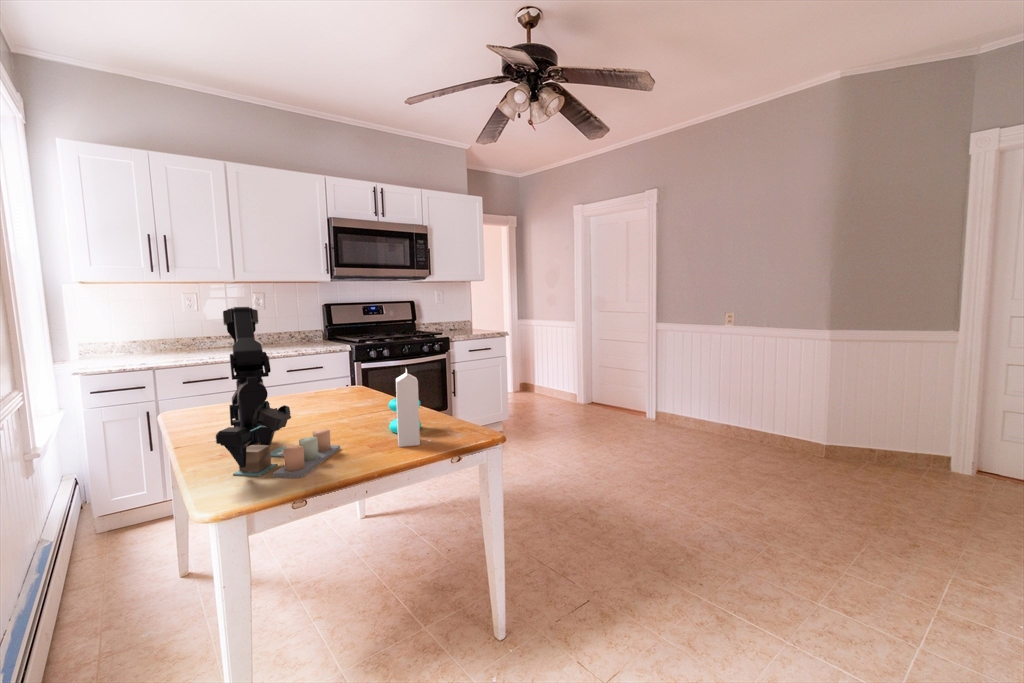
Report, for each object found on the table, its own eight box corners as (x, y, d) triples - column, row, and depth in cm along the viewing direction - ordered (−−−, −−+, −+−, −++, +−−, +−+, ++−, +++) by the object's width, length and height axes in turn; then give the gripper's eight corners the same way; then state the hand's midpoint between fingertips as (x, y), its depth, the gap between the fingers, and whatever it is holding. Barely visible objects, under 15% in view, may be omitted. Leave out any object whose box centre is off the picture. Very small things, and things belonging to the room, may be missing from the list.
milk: (398, 447, 133) (395, 371, 130) (397, 441, 138) (394, 367, 136) (420, 445, 134) (417, 369, 132) (418, 438, 140) (415, 366, 138)
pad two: (232, 475, 113) (232, 472, 113) (251, 464, 120) (251, 462, 120) (260, 476, 112) (260, 473, 112) (277, 465, 119) (277, 463, 119)
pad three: (265, 456, 126) (265, 454, 126) (280, 448, 133) (279, 446, 133) (290, 457, 125) (290, 455, 125) (303, 448, 132) (303, 446, 132)
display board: (273, 477, 111) (271, 452, 111) (316, 448, 132) (315, 427, 132) (301, 477, 111) (299, 453, 110) (340, 448, 132) (339, 428, 131)
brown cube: (259, 471, 113) (257, 451, 113) (239, 471, 114) (238, 451, 113) (271, 464, 118) (269, 445, 118) (252, 464, 119) (251, 445, 118)
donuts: (415, 403, 143) (383, 403, 144) (416, 435, 144) (384, 434, 145) (424, 396, 153) (394, 396, 154) (424, 425, 154) (395, 425, 155)
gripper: (258, 408, 104) (263, 475, 106) (302, 391, 123) (305, 448, 124) (211, 408, 105) (216, 474, 107) (262, 391, 124) (265, 448, 125)
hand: (255, 460), depth 116 cm, fingers open, 9 cm apart
